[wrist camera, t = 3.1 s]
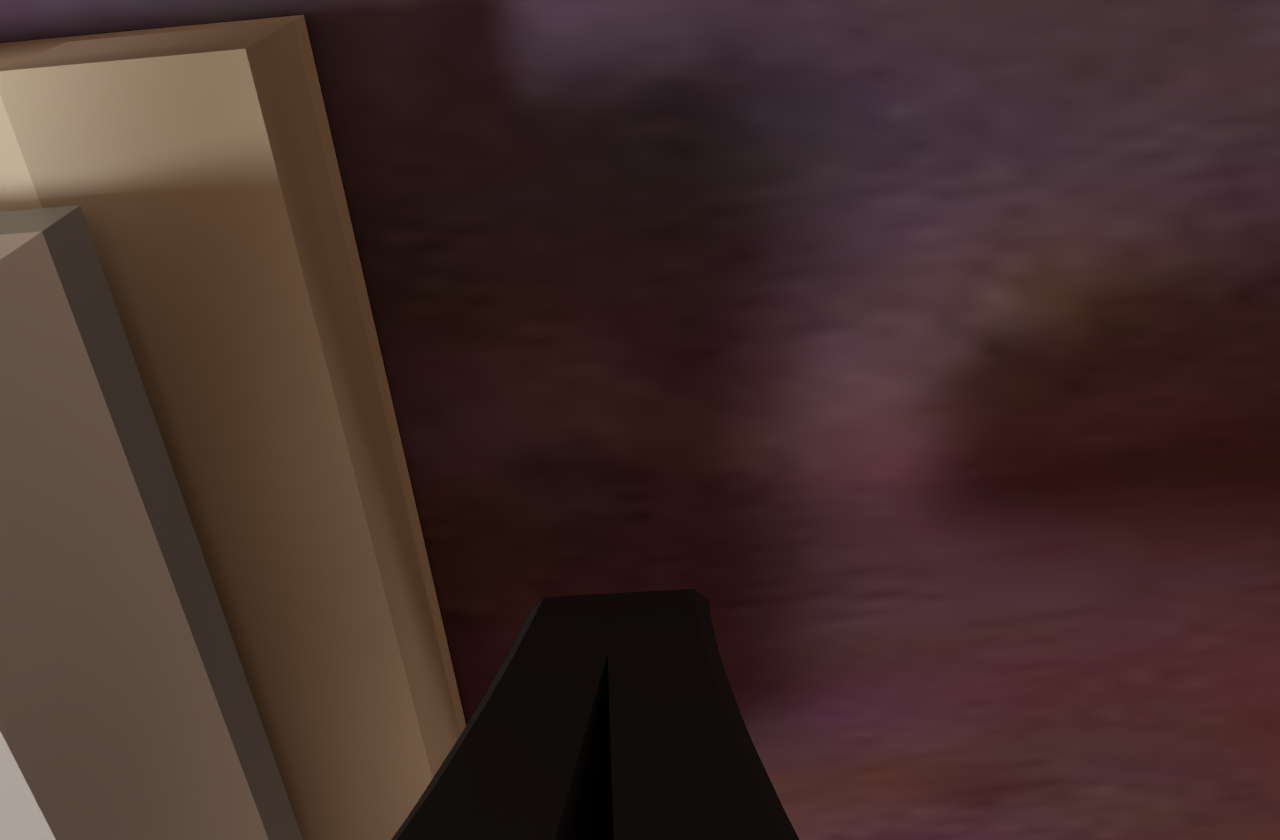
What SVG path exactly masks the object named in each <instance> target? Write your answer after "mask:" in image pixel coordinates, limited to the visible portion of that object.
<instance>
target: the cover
mask: <svg viewBox="0 0 1280 840" xmlns="http://www.w3.org/2000/svg"><path fill="white" fill-rule="evenodd" d="M0 840H303V839H302V836H301V833H300V830H299V827H298V825H297V822H296V819H295V816H294V813H293V810H292V807H291V805H290V802H289V799H288V796H287V793H286V790H285V787H284V785H283V782H282V779H281V776H280V773H279V770H278V768H277V765H276V762H275V759H274V756H273V753H272V750H271V748H270V745H269V742H268V739H267V736H266V733H265V730H264V728H263V725H262V722H261V719H260V716H259V713H258V711H257V708H256V705H255V702H254V699H253V696H252V693H251V691H250V688H249V685H248V682H247V679H246V676H245V673H244V671H243V668H242V665H241V662H240V659H239V656H238V653H237V651H236V648H235V645H234V642H233V639H232V636H231V634H230V631H229V628H228V625H227V622H226V619H225V616H224V614H223V611H222V608H221V605H220V602H219V599H218V596H217V594H216V591H215V588H214V585H213V582H212V579H211V577H210V574H209V571H208V568H207V565H206V562H205V559H204V557H203V554H202V551H201V548H200V545H199V542H198V539H197V537H196V534H195V531H194V528H193V525H192V522H191V520H190V517H189V514H188V511H187V508H186V505H185V502H184V500H183V497H182V494H181V491H180V488H179V485H178V482H177V480H176V477H175V474H174V471H173V468H172V465H171V462H170V460H169V457H168V454H167V451H166V448H165V445H164V443H163V440H162V437H161V434H160V431H159V428H158V425H157V423H156V420H155V417H154V414H153V411H152V408H151V405H150V403H149V400H148V397H147V394H146V391H145V388H144V386H143V383H142V380H141V377H140V374H139V371H138V368H137V366H136V363H135V360H134V357H133V354H132V351H131V348H130V346H129V343H128V340H127V337H126V334H125V331H124V329H123V326H122V323H121V320H120V317H119V314H118V311H117V309H116V306H115V303H114V300H113V297H112V294H111V291H110V289H109V286H108V283H107V280H106V277H105V274H104V271H103V269H102V266H101V263H100V260H99V257H98V254H97V252H96V249H95V246H94V243H93V240H92V237H91V234H90V232H89V229H88V226H87V223H86V220H85V217H84V214H83V212H82V209H81V206H80V205H76V206H64V207H52V208H40V209H28V210H16V211H3V212H0Z"/></svg>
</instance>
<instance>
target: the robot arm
mask: <svg viewBox="0 0 1280 840" xmlns="http://www.w3.org/2000/svg"><path fill="white" fill-rule="evenodd" d="M391 840H799V838H798V836H797V834H796V832H795V830H794V828H793V826H792V825H791V823H790V821H789V819H788V817H787V815H786V813H785V811H784V809H783V807H782V805H781V803H780V800H779V798H778V796H777V794H776V792H775V790H774V788H773V785H772V783H771V781H770V779H769V777H768V775H767V772H766V770H765V768H764V766H763V764H762V762H761V760H760V757H759V755H758V753H757V751H756V749H755V747H754V744H753V742H752V740H751V738H750V735H749V733H748V731H747V728H746V726H745V723H744V721H743V719H742V716H741V714H740V711H739V709H738V706H737V703H736V700H735V698H734V695H733V692H732V690H731V687H730V684H729V681H728V679H727V676H726V673H725V670H724V667H723V664H722V661H721V657H720V654H719V651H718V647H717V643H716V640H715V636H714V631H713V626H712V621H711V616H710V605H709V600H708V599H707V598H705V597H704V596H703V595H701V594H700V593H699V592H698V591H696V590H695V589H687V590H669V591H651V592H633V593H614V594H596V595H578V596H560V597H543V598H542V599H541V600H540V601H539V602H538V603H537V604H536V605H535V606H534V607H533V608H532V609H531V611H530V613H529V615H528V617H527V619H526V621H525V623H524V625H523V627H522V629H521V631H520V633H519V635H518V636H517V638H516V640H515V642H514V644H513V646H512V648H511V649H510V651H509V653H508V655H507V657H506V659H505V660H504V662H503V664H502V666H501V668H500V669H499V671H498V673H497V675H496V676H495V678H494V680H493V682H492V683H491V685H490V687H489V689H488V690H487V692H486V694H485V695H484V697H483V699H482V700H481V702H480V704H479V705H478V707H477V709H476V711H475V712H474V714H473V716H472V717H471V719H470V721H469V722H468V724H467V726H466V727H465V729H464V730H463V732H462V733H461V735H460V737H459V738H458V740H457V741H456V743H455V744H454V746H453V747H452V749H451V751H450V752H449V754H448V755H447V757H446V758H445V760H444V761H443V763H442V765H441V766H440V768H439V769H438V771H437V772H436V774H435V776H434V777H433V779H432V780H431V782H430V783H429V785H428V786H427V788H426V790H425V791H424V793H423V794H422V796H421V797H420V799H419V800H418V802H417V803H416V805H415V806H414V808H413V809H412V811H411V812H410V814H409V815H408V817H407V818H406V820H405V821H404V822H403V824H402V825H401V827H400V828H399V829H398V831H397V832H396V834H395V835H394V836H393V838H392V839H391Z"/></svg>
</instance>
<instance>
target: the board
mask: <svg viewBox="0 0 1280 840" xmlns="http://www.w3.org/2000/svg"><path fill="white" fill-rule="evenodd" d="M76 205H80V206H81V209H82V212H83V214H84V217H85V220H86V223H87V226H88V229H89V232H90V234H91V237H92V240H93V243H94V246H95V249H96V252H97V254H98V257H99V260H100V263H101V266H102V269H103V271H104V274H105V277H106V280H107V283H108V286H109V289H110V291H111V294H112V297H113V300H114V303H115V306H116V309H117V311H118V314H119V317H120V320H121V323H122V326H123V329H124V331H125V334H126V337H127V340H128V343H129V346H130V348H131V351H132V354H133V357H134V360H135V363H136V366H137V368H138V371H139V374H140V377H141V380H142V383H143V386H144V388H145V391H146V394H147V397H148V400H149V403H150V405H151V408H152V411H153V414H154V417H155V420H156V423H157V425H158V428H159V431H160V434H161V437H162V440H163V443H164V445H165V448H166V451H167V454H168V457H169V460H170V462H171V465H172V468H173V471H174V474H175V477H176V480H177V482H178V485H179V488H180V491H181V494H182V497H183V500H184V502H185V505H186V508H187V511H188V514H189V517H190V520H191V522H192V525H193V528H194V531H195V534H196V537H197V539H198V542H199V545H200V548H201V551H202V554H203V557H204V559H205V562H206V565H207V568H208V571H209V574H210V577H211V579H212V582H213V585H214V588H215V591H216V594H217V596H218V599H219V602H220V605H221V608H222V611H223V614H224V616H225V619H226V622H227V625H228V628H229V631H230V634H231V636H232V639H233V642H234V645H235V648H236V651H237V653H238V656H239V659H240V662H241V665H242V668H243V671H244V673H245V676H246V679H247V682H248V685H249V688H250V691H251V693H252V696H253V699H254V702H255V705H256V708H257V711H258V713H259V716H260V719H261V722H262V725H263V728H264V730H265V733H266V736H267V739H268V742H269V745H270V748H271V750H272V753H273V756H274V759H275V762H276V765H277V768H278V770H279V773H280V776H281V779H282V782H283V785H284V787H285V790H286V793H287V796H288V799H289V802H290V805H291V807H292V810H293V813H294V816H295V819H296V822H297V825H298V827H299V830H300V833H301V836H302V839H303V840H391V839H392V838H393V836H394V835H395V834H396V832H397V831H398V829H399V828H400V827H401V825H402V824H403V822H404V821H405V820H406V818H407V817H408V815H409V814H410V812H411V811H412V809H413V808H414V806H415V805H416V803H417V802H418V800H419V799H420V797H421V796H422V794H423V793H424V791H425V790H426V788H427V786H428V785H429V783H430V782H431V780H432V779H433V777H434V776H435V774H436V772H437V771H438V769H439V768H440V766H441V765H442V763H443V761H444V760H445V758H446V757H447V755H448V754H449V752H450V751H451V749H452V747H453V746H454V744H455V743H456V741H457V740H458V738H459V737H460V735H461V733H462V732H463V730H464V729H465V727H466V723H465V718H464V714H463V709H462V705H461V701H460V696H459V692H458V688H457V683H456V679H455V674H454V670H453V666H452V661H451V657H450V653H449V648H448V644H447V639H446V635H445V631H444V626H443V622H442V618H441V613H440V609H439V604H438V600H437V596H436V591H435V587H434V583H433V578H432V574H431V569H430V565H429V561H428V556H427V552H426V548H425V543H424V539H423V534H422V530H421V526H420V521H419V517H418V512H417V508H416V504H415V499H414V495H413V491H412V486H411V482H410V477H409V473H408V469H407V464H406V460H405V456H404V451H403V447H402V442H401V438H400V434H399V429H398V425H397V421H396V416H395V412H394V407H393V403H392V399H391V394H390V390H389V386H388V381H387V377H386V372H385V368H384V364H383V359H382V355H381V351H380V346H379V342H378V337H377V333H376V329H375V324H374V320H373V316H372V311H371V307H370V302H369V298H368V294H367V289H366V285H365V280H364V276H363V272H362V267H361V263H360V259H359V254H358V250H357V245H356V241H355V237H354V232H353V228H352V224H351V219H350V215H349V210H348V206H347V202H346V197H345V193H344V189H343V184H342V180H341V175H340V171H339V167H338V162H337V158H336V154H335V149H334V145H333V140H332V136H331V132H330V127H329V123H328V119H327V114H326V110H325V105H324V101H323V97H322V92H321V88H320V84H319V79H318V75H317V70H316V66H315V62H314V57H313V53H312V48H311V44H310V40H309V35H308V31H307V27H306V22H305V18H304V15H296V16H285V17H274V18H264V19H253V20H242V21H231V22H221V23H210V24H199V25H188V26H178V27H167V28H156V29H146V30H135V31H124V32H113V33H103V34H92V35H81V36H70V37H60V38H49V39H38V40H28V41H17V42H6V43H0V212H3V211H16V210H28V209H40V208H52V207H64V206H76Z"/></svg>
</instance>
